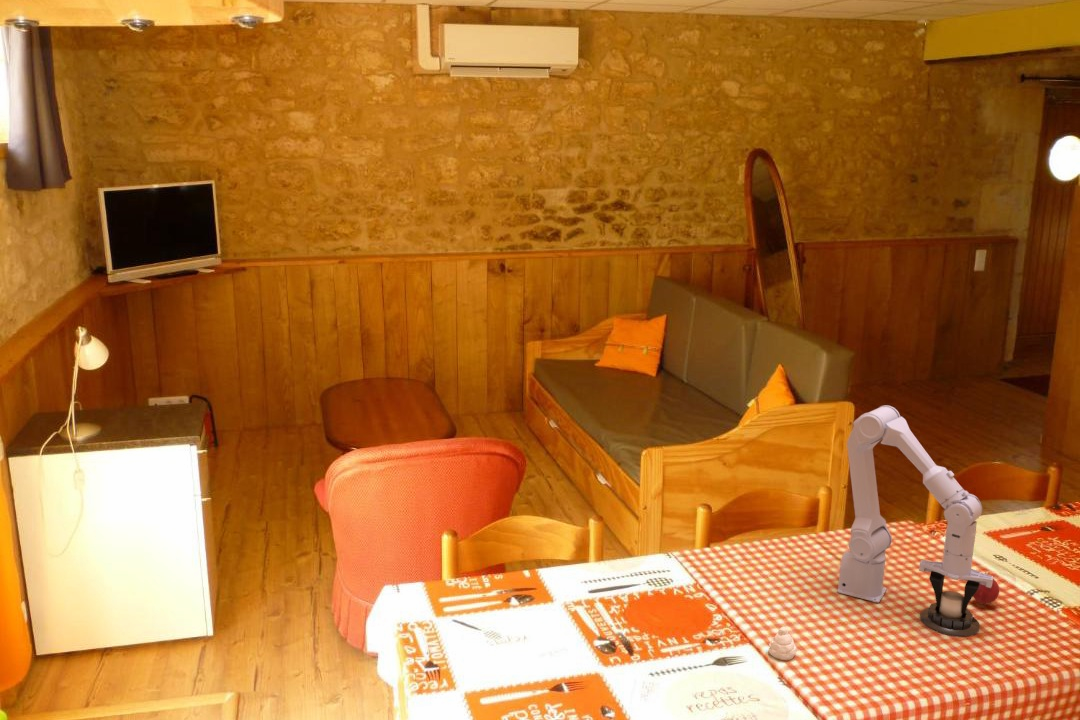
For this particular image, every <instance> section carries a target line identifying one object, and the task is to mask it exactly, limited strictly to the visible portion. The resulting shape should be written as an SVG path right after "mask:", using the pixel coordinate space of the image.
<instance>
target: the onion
mask: <svg viewBox="0 0 1080 720" xmlns="http://www.w3.org/2000/svg"><path fill="white" fill-rule="evenodd" d="M990 573H991V572H989V571H988V570H986V571H985V572H984V574H986V575H990ZM999 594H1000V587H999V584H998V582H997V581H996V579H995V578H993V583H992V587H991V588H989V587H986V585H982V584H980V585H979V588H978V590H977V591H976V593H975V594H974V595H973V597H972V598H974V599H975V600H976V601H977V602H978V603H979V604H980V605H982V606H983V605H984V606H985V605H988V604H991V603H993V602H994V601H996V599H998V597H999Z"/></svg>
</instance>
